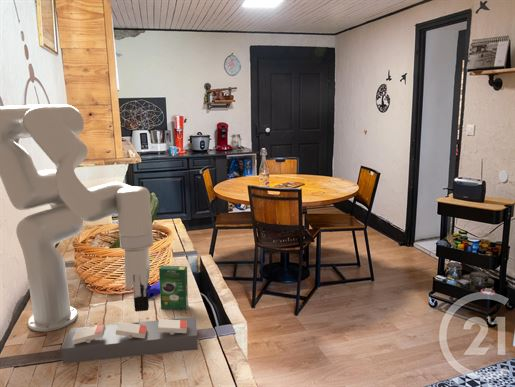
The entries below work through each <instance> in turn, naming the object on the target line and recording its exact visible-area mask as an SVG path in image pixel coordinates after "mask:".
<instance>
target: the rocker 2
mask: <svg viewBox="0 0 515 387" xmlns="http://www.w3.org/2000/svg"><path fill="white" fill-rule="evenodd" d="M132 323H133V322H125V321H118V323H117V324H118V326H117V330H116V334H115V335H122V336H128V338H129V339H131V338H132V337H137V338H144V339H145V335H146V328H147V325H139V324H132Z"/></svg>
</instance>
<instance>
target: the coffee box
mask: <svg viewBox="0 0 515 387" xmlns="http://www.w3.org/2000/svg"><path fill="white" fill-rule="evenodd" d="M158 274H159V280H160V294H159V296H160V309H161V310H178V311H182V310H185V311H187V310H188V307H189V293H188V288H189V287H188V266H184V265H183V266H182V265H165V264H164V265H160V267H159V269H158Z"/></svg>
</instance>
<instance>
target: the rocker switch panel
mask: <svg viewBox="0 0 515 387" xmlns="http://www.w3.org/2000/svg"><path fill="white" fill-rule="evenodd" d="M168 320H186V321H187V332H186V333H174V334H173V335H171V334H170V332H158V324H159V319H157V320H149V321H148V320H146V321H135V322H131V323H132V324H139V325H147V328H146V335H145V339H144V338H137V337H132V338H131V339H129V338H128V336H122V335H115V334H116V330H117V326H118V323H117V324H116V323H115V324H114V323H113V324H105V327H106V329H105V332H104V335H103V337H101V338H97V339H93V340H91V342H90V343H87V342H86V341H85V342H81V343H77V344H73V342H72V339H73V337H74V334H75V332H76V331H78V330H82V329H86V328H90V327H94V326H95V325H91V326H85V327H84V326H82V327H73V328H71V327H70V328H69V331H68V333H67V335H66V338H65V339H64V341H63V344H62V346H61V348H60V352H61V360H62V364H72V363H82V362H90V361H91V362H92V361H98V360H99V361H100V360H110V359H118V358H119V359H120V358H127V357H128V358H129V357H138V356H146V355H148V356H149V355H158V354H168V353H177V352H178V353H179V352H187V351H196V350H197V351H198V350H199V348H198V346H199V343H198V327H197V316H191V317H180V318H169V319H168Z"/></svg>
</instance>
